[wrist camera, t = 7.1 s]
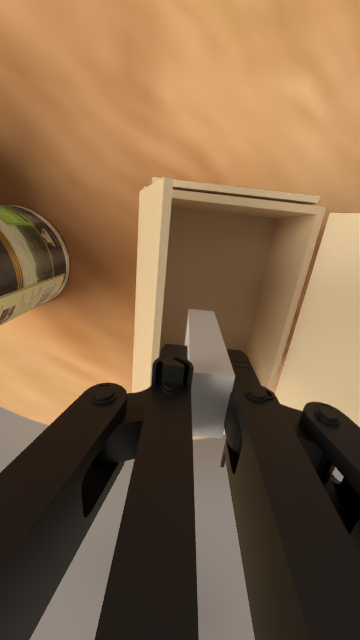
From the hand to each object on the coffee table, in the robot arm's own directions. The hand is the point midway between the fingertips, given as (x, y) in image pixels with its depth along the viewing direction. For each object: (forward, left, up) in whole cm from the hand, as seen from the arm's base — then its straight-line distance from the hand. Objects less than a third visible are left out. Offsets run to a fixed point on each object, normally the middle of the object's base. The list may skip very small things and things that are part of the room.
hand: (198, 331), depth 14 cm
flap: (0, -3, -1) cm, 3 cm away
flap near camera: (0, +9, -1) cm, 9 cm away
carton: (0, +2, -12) cm, 12 cm away
